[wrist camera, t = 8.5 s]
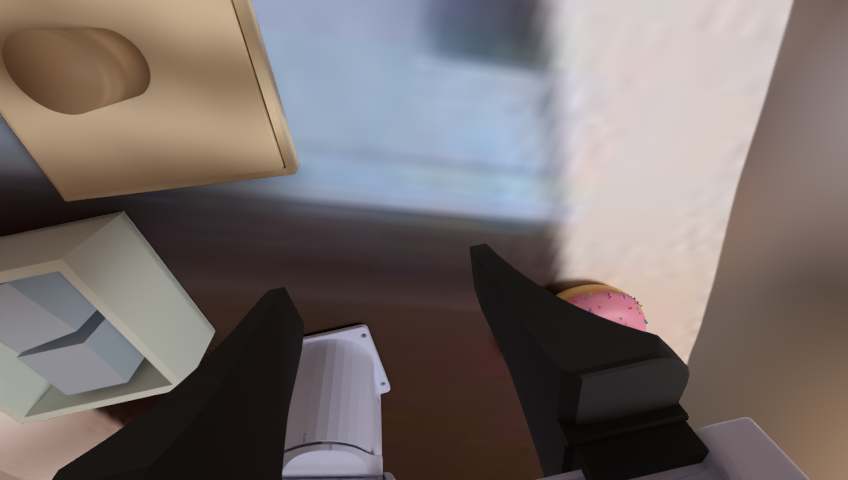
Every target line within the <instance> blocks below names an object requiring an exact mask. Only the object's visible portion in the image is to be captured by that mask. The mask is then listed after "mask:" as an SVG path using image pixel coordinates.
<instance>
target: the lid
mask: <svg viewBox="0 0 848 480" xmlns="http://www.w3.org/2000/svg"><path fill="white" fill-rule="evenodd" d="M0 113H1V115H2V116H3V117H4V119H5V120H6V122H7V123H8V124H9V126H10V127H11V128H12V130H13V131H14V132H15V134H16V135H17V136H18V138H19V139H20V140H21V142H22V143H23V144H24V146H25V147H26V149H27V150H28V151H29V153H30V154H31V155H32V157H33V158H34V159H35V161H36V162H37V163H38V165H39V166H40V167H41V169H42V170H43V171H44V173H45V174H46V176H47V177H48V178H49V180H50V181H51V182H52V184H53V185H54V186H55V188H56V189H57V190H58V192H59V193H60V194H61V196H62V197H63V198H64V200H65V201H74V200H83V199H91V198H99V197H108V196H116V195H124V194H133V193H141V192H149V191H158V190H166V189H174V188H183V187H191V186H199V185H208V184H216V183H224V182H233V181H241V180H249V179H258V178H266V177H274V176H283V175H291V174H295V173H296V171H297V169H298V167H299V162H298V158H297V155H296V152H295V148H294V145H293V141H292V138H291V134H290V131H289V128H288V124H287V121H286V117H285V114H284V111H283V107H282V104H281V100H280V97H279V93H278V90H277V87H276V83H275V80H274V76H273V73H272V70H271V66H270V63H269V59H268V56H267V52H266V49H265V46H264V42H263V39H262V35H261V32H260V29H259V25H258V22H257V18H256V15H255V11H254V8H253V5H252V1H251V0H0Z"/></svg>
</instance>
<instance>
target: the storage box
mask: <svg viewBox="0 0 848 480" xmlns="http://www.w3.org/2000/svg"><path fill="white" fill-rule="evenodd" d="M56 271H59V272H60V273H61V274H62V275H63V276H64V277H65V278H66V279H67V280H68V281H69V282H70V283H71V284H72V285H73V286H74V287H75V288H76V289H77V290H78V291H79V292H80V293H81V294H82V295H83V296H84V297H85V298H86V299H87V300H88V301H89V302H90V303H91V304H92V305H93V306H94V307H95V308H96V309H97V310H98V311H99V312H100V313H101V314H102V315H103V316H104V317H105V318H106V319H107V320H108V321H109V322H110V323H111V324H112V325H113V326H114V327H115V328H116V329H117V330H118V331H119V332H120V333H121V334H122V335H123V336H124V337H125V338H126V339H127V340H128V341H129V342H130V343H131V344H132V345H133V346H134V347H135V348H136V349H137V350H138V351H140V352H141V353H142V354H143V355H144V356H145V357H144V359H143V360H142V362H141V363H140V365H139V366H138V368H137V369H136V371H135V372H134V374H133V375H132V377H131V378H130V380H129V381H128V382H127V383H122V384H117V385H113V386H108V387H104V388H99V389H95V390H90V391H86V392H81V393H77V394H72V395H66V394H64V393H63V392H62V391H60V390H59V389H58V388H56V387H55V386H54V385H52V384H51V383H50V382H48V381H47V380H45V379H44V378H43V377H41V376H40V375H39V374H37V373H36V372H35V371H33V370H32V369H31V368H29V367H28V366H27V365H25V364H24V363H23V362H21V361H20V360H19V359H17V358H16V357H17V356H18V355H20V354H21V353H22V352H21V353H17V352H15V351H14V350H12V349H10V348H9V347H7V346H5V345H3V344H2V343H0V411H2V412H3V413H5V414H7V415H8V416H10V417H11V418H13V419H15V420H16V421H18V422H20V423H21V424H26V423H30V422H35V421H39V420H44V419H48V418H53V417H57V416H62V415H67V414H71V413H76V412H80V411H85V410H89V409H94V408H98V407H103V406H107V405H112V404H116V403H121V402H125V401H130V400H134V399H139V398H144V397H148V396H153V395H157V394H162V393H166V392H170V391H171V390H172V389H173V388H174V387H176V386H177V385H178V384H179V383H180V382H182V381H183V380H184V379H185V378H186V377H187V376H188V375H189V374H190V373H192V372H193V371H194V370H195V369H196V368H197V367H198V365H199V363H200V361H201V359H202V357H203V355H204V353H205V351H206V349H207V347H208V345H209V343H210V341H211V339H212V337H213V335H214V333H215V329H214V328H213V327H212V325H211V324H210V323H209V321H208V320H207V319H206V318H205V316H204V315H203V314H202V312H201V311H200V310H199V308H198V307H197V306H196V304H195V303H194V302H193V301H192V299H191V298H190V297H189V295H188V294H187V293H186V291H185V290H184V289H183V287H182V286H181V285H180V284H179V282H178V281H177V280H176V278H175V277H174V276H173V274H172V273H171V272H170V270H169V269H168V268H167V267H166V265H165V264H164V263H163V261H162V260H161V259H160V257H159V256H158V255H157V253H156V252H155V251H154V249H153V248H152V247H151V246H150V244H149V243H148V242H147V240H146V239H145V238H144V236H143V235H142V234H141V232H140V231H139V230H138V229H137V227H136V226H135V225H134V223H133V222H132V221H131V219H130V218H129V217H128V215H127V214H126V213H125V212H124V211H121V212H117V213H112V214H107V215H102V216H98V217H93V218H88V219H83V220H79V221H74V222H69V223H64V224H59V225H55V226H50V227H45V228H40V229H36V230H31V231H26V232H21V233H17V234H12V235H7V236H2V237H0V283H4V282H9V281H13V280H18V279H23V278H28V277H32V276H37V275H42V274H46V273H51V272H56Z"/></svg>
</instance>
